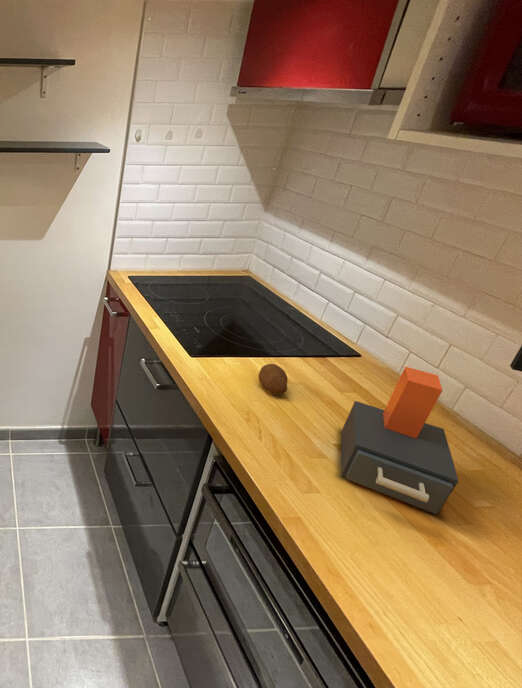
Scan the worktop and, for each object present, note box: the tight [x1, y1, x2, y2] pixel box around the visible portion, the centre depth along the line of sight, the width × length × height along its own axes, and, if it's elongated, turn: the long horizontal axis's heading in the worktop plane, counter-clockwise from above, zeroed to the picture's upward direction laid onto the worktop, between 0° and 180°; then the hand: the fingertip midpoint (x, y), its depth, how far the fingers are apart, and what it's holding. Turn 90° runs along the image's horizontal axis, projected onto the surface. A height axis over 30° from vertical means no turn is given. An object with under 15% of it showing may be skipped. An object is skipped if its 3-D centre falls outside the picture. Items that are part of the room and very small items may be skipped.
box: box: [383, 366, 443, 438], centre depth 90 cm, size 5×6×12 cm
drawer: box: [345, 450, 453, 515], centre depth 89 cm, size 20×14×7 cm
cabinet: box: [340, 400, 460, 516], centre depth 92 cm, size 17×15×9 cm
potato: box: [258, 363, 288, 395], centre depth 117 cm, size 7×10×6 cm
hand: (521, 369), depth 82 cm, fingers closed
